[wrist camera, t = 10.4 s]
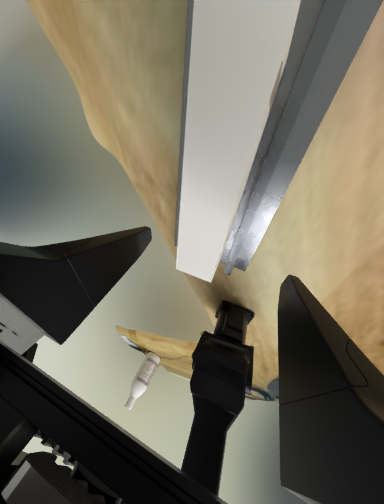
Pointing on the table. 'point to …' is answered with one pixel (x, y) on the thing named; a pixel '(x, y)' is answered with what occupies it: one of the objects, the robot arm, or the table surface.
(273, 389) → the table surface
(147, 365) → the bath foam
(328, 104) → the track
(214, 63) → the door panel
